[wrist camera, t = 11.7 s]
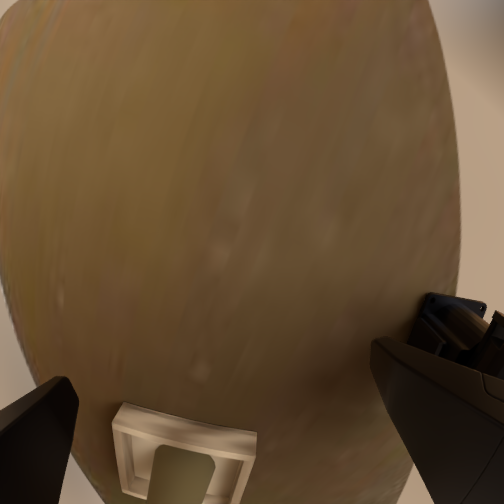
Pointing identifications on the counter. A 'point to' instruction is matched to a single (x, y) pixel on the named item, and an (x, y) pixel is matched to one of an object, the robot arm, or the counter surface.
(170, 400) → the counter surface
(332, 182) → the counter surface
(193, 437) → the birch tray
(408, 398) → the robot arm
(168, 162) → the counter surface
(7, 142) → the counter surface
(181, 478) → the olive pepper mill
